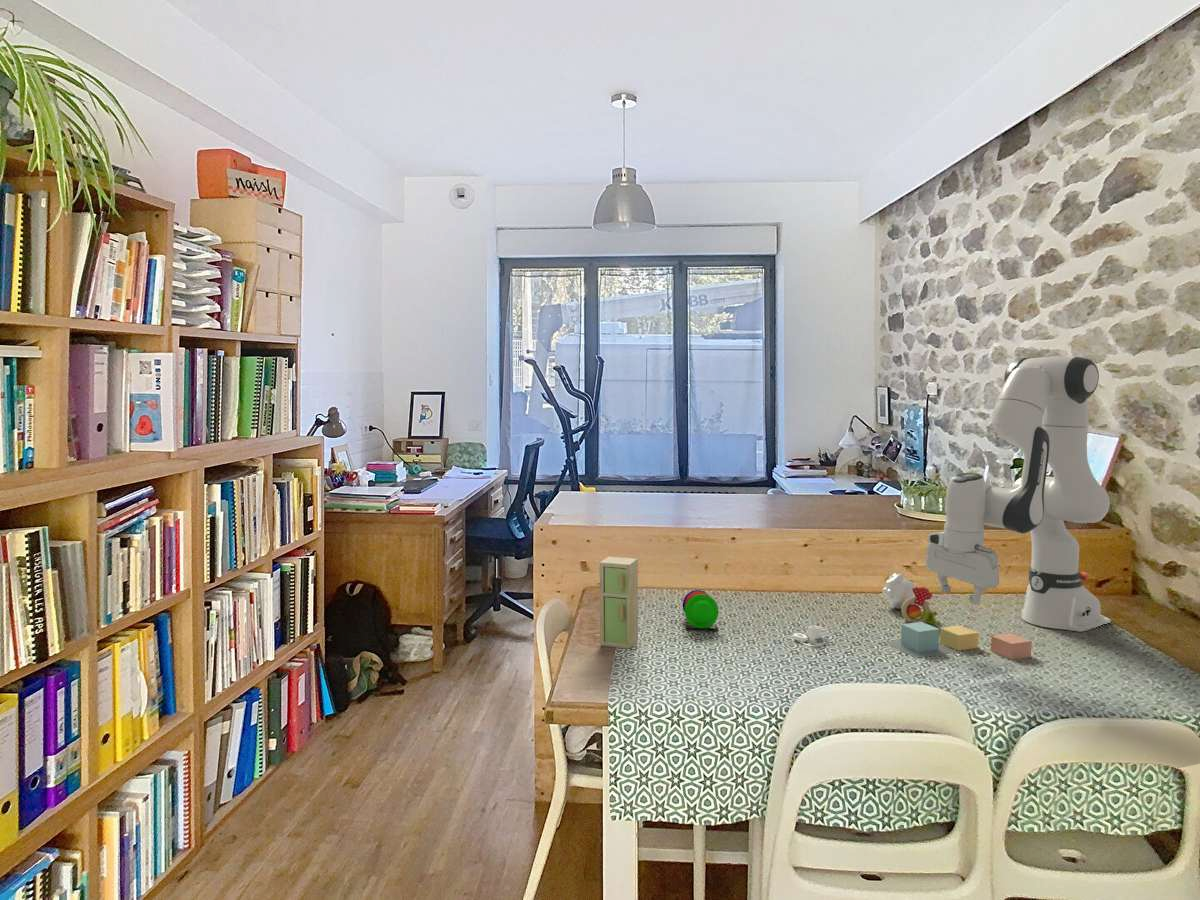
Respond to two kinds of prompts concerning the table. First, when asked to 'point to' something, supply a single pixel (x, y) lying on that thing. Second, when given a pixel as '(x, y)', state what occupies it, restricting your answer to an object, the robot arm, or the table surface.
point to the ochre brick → (959, 637)
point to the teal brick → (920, 637)
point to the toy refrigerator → (618, 602)
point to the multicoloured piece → (700, 610)
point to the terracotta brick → (1011, 646)
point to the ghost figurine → (898, 590)
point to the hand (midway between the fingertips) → (959, 597)
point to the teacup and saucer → (810, 636)
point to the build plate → (915, 654)
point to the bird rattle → (914, 610)
